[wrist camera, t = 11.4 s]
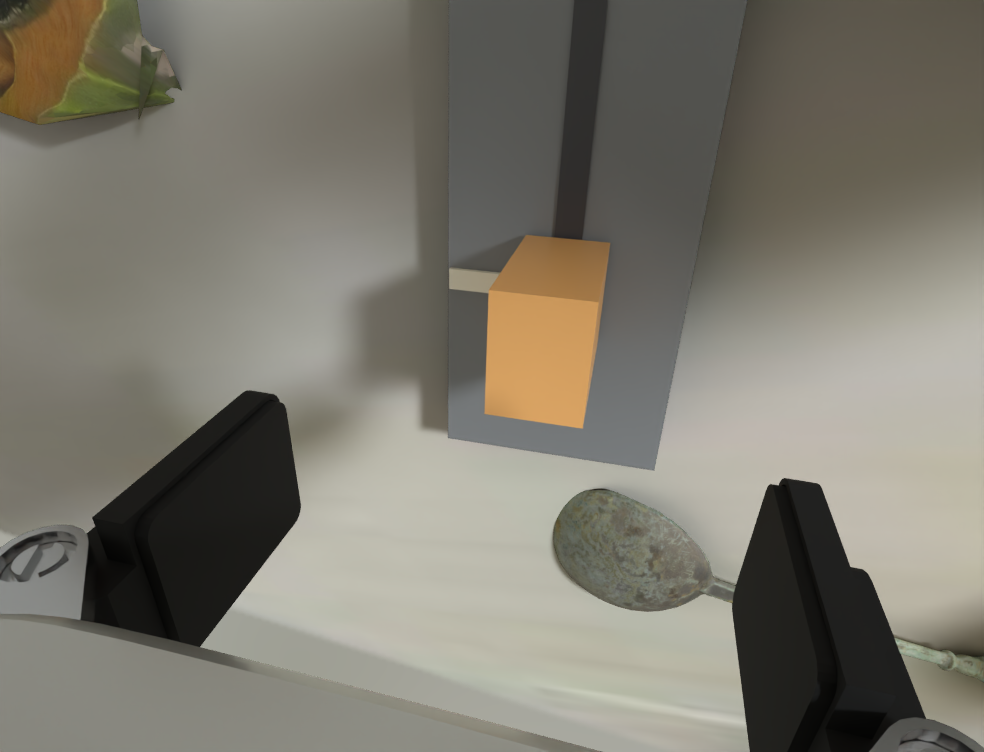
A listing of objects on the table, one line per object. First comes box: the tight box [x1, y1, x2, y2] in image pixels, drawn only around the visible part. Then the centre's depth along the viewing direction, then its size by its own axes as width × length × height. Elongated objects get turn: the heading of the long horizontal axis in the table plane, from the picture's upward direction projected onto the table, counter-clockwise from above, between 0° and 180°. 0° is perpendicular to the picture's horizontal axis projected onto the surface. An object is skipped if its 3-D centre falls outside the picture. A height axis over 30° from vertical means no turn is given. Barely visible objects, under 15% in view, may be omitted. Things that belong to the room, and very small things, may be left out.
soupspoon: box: [554, 490, 984, 682], centre depth 29 cm, size 22×3×7 cm
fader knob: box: [484, 235, 610, 429], centre depth 20 cm, size 4×3×6 cm
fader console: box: [448, 0, 747, 471], centre depth 22 cm, size 23×9×2 cm, turn 178°
